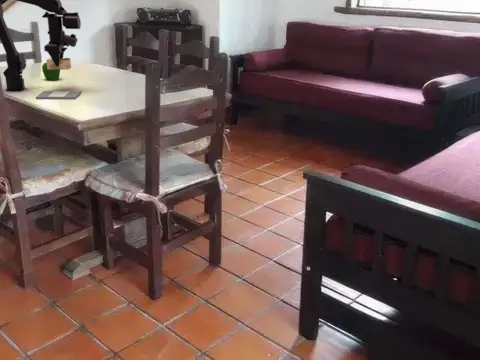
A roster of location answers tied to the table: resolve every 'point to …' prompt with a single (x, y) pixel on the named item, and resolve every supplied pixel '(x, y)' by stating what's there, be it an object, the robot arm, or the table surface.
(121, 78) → the table surface
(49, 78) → the bell pepper
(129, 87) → the table surface
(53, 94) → the mat
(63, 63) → the copper block with band
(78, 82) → the table surface
